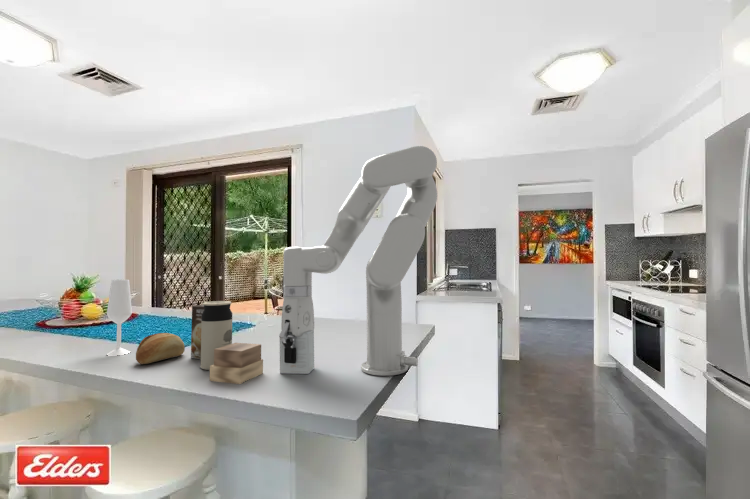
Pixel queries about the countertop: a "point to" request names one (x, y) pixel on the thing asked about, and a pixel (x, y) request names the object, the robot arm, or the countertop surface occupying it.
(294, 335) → the robot arm
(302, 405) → the countertop surface
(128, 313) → the champagne flute
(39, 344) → the countertop surface
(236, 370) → the oak slab
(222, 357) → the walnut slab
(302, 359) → the small box
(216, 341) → the travel mug
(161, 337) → the bread roll
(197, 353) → the coffee box
